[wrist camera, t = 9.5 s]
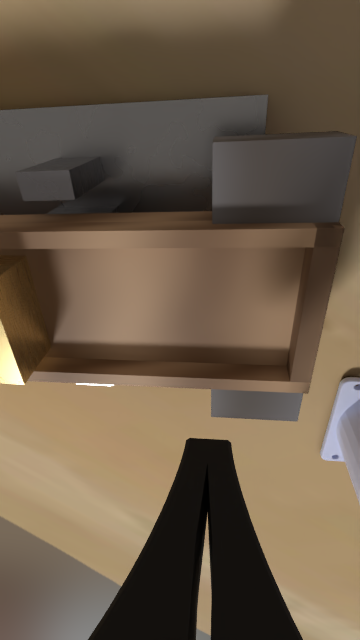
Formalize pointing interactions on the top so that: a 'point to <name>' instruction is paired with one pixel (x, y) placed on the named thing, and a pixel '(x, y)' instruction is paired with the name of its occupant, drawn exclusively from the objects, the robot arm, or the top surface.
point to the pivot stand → (118, 155)
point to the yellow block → (20, 322)
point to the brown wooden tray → (199, 279)
